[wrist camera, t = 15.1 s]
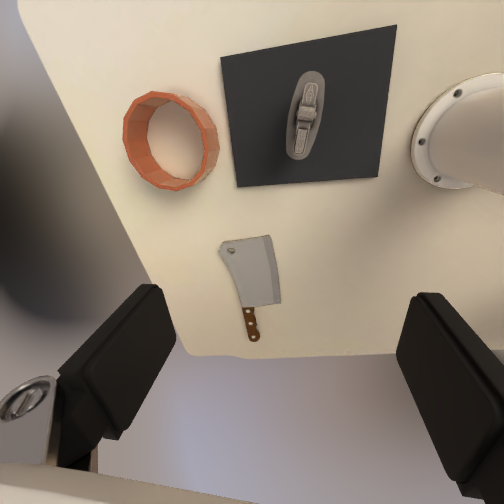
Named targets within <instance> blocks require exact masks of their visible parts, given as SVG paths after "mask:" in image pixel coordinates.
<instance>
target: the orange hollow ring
mask: <svg viewBox="0 0 504 504" xmlns="http://www.w3.org/2000/svg"><path fill="white" fill-rule="evenodd" d="M169 101H175V102H176V103H178V104H179V105H180V106H182V107H183V108H185V109H186V110H187V111H189V112H190V114H191V116H192V117H193V119H194V120H195V122H196V124H197V125H198V127H199V128H200V130H201V134H202V139H203V145H204V150H205V152H204V156H203V161H202V165H201V169H200V171H199V172H198V173H197V174H196V175H195V177H194V178H193V179H190V180H185V179H179V178H174V177H173V176H171V175H170V174H168V173H167V172H165V171H163V170H162V169H161V168H160V166H159V165H158V164H157V162H156V161H155V159H154V158H153V157H152V155H151V152H150V148H149V145H148V141H147V131H148V122H149V119H150V118H151V116H152V115H153V113H154V112H155V110H156V108H157V107H159V106H161V105H163V104H165V103H167V102H169ZM122 139H123V143H124V146H125V149H126V152H127V155H128V158H129V161H130V162H131V163H132V165H133V166H134V167H135V169H136V170H137V171H138V173H139V174H140V175H141V177H142V178H144V179H145V180H147V181H148V182H150V183H151V184H153V185H154V186H156V187H158V188H160V189H166V190H172V191H179V190H182V189H184V188H187V187H190V186H193V185H195V184H196V183H198V182H200V181H201V180H203V179H205V178H206V176H207V175H208V174H209V173H210V172H211V171H212V170H213V168H214V167H215V165H216V161H217V157H218V153H219V149H220V148H219V141H218V135H217V129H216V127H215V125H214V123H213V122H212V120H211V118H210V117H209V115H208V113H207V111H206V110H205V109H204V108H202V107H201V106H199V105H198V104H197V103H195V102H194V101H192V100H191V99H190V98H187V97H183V96H179V95H175V94H171V93H163V92H155V91H151V92H149V93H147V94H145V95H143V96H141V97H139V98H137V99H135V100H134V101H133V103H132V104H131V106H130V108H129V109H128V111H127V113H126V115H125V116H124V121H123V138H122Z"/></svg>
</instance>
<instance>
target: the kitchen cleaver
mask: <svg viewBox="0 0 504 504" xmlns="http://www.w3.org/2000/svg"><path fill="white" fill-rule="evenodd" d="M228 248H233V249H234V250H235V252H233V253H232V252H229V250H228ZM218 252H219V253H220V255H221V256H222V257H223V259H224V260H225V262H226V263H227V265H228V267H229V269H230V271H231V273H232V275H233V278H234V280H235V283H236V286H237V289H238V293H239V297H240V300H241V304H242V310H243V314H244V319H245V323H246V328H247V332H248V337H249V339H250V341H252V342H256V341H258V340H259V338H260V334H259V332H258V331H257V329H256V325H257V324H256V319H255V316H254V314H253V313H254V307H257V306H264V305H270V304H278V303H281V299H280V288H279V278H278V269H277V264H276V259H275V255H274V250H273V245H272V241H271V238H270V236H269V235H266V236H262V237H255V238H248V239H241V240H235V241H228V242H223V243H222V245H221V247H220V249H219V251H218Z"/></svg>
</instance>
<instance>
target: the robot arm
mask: <svg viewBox="0 0 504 504" xmlns="http://www.w3.org/2000/svg"><path fill="white" fill-rule="evenodd" d="M454 92H455V96H454V97H453V94H454ZM419 139H420V140H421V141H420V143H418V141H419ZM411 157H412V163H413V165H414V167H415V170H416V171H417V173H418V174H419V175H420V177H421V178H423V179H424V180H425V181H427V182H428V183H430V184H432V185H435V186H438V187H441V188H447V189H463V188H467V187H472V186H475V185H476V186H479V187H482V188H485V189H488V190H491V191H494V192H497V193H500V194H503V195H504V73H489V74H484V75H480V76H476V77H473V78H470V79H467V80H465V81H463V82H461V83H459V84H457V85H455V86H453V87H452V88H450V89H449V90H448V91H446V92H445V93H443V94H442V95H441V96H440V97H439V98H438V99H437V100H436V101H434V102H433V103H432V105H431V106H430V107H429V108H428V109H427V111H426V112H425V113H424V115H423V116H422V118H421V120H420V121H419V123H418V125H417V127H416V130H415V132H414V135H413V139H412V144H411ZM434 177H436V178H435V179H434ZM175 342H176V333H175V330H174V326H173V323H172V320H171V317H170V313H169V310H168V307H167V304H166V300H165V297H164V294H163V291H162V289H161V288H159V287H158V285H156V284H142V285H140V286H139V287H138V288H137V289H136V290H135V291H134V292H133V293H132V294H131V295H130V296H129V297H128V298H127V299H126V300H125V301H124V303H122V305H120V307H119V308H118V309H117V310H116V311H115V312H114V313H113V314H112V315H111V316H110V317H109V318H108V319H107V320H106V321H105V322H104V323H103V324H102V325H101V326H100V327H99V328H98V329H97V330H96V331H95V332H94V334H92V335H91V336H90V338H89V339H88V340H87V341H86V342H85V343H84V344H83V345H82V346H81V347H80V348H79V349H78V350H77V351H76V352H75V353H74V354H73V355H72V356H71V357H70V358H69V359H68V360H67V361H66V362H65V363H64V364H63V365H62V366H61V367H60V368H59V369H58V372H59V374H60V377H59V378H58V379H57V380H55V379H54V378H53V377H51V376H39V377H36V378H33V379H31V380H28V381H27V382H25V383H23V384H21V385H19V386H18V387H16V388H15V389H14V390H12V391H11V392H10V393H9V394H7V395H6V396H5V397H4V398H3V399H2V400H1V401H0V504H257V503H252V502H246V501H241V500H236V499H231V498H226V497H220V496H215V495H210V494H205V493H199V492H194V491H189V490H184V489H178V488H173V487H167V486H162V485H157V484H151V483H146V482H141V481H135V480H130V479H124V478H119V477H114V476H109V475H103V474H98V450H97V449H98V446H97V445H98V443H99V441H100V440H101V438H102V437H103V438H105V439H112V440H119V438H120V436H121V434H122V433H123V431H124V430H126V429H128V428H129V426H130V425H131V423H132V421H133V419H134V417H135V416H136V414H137V412H138V410H139V408H140V407H141V405H142V403H143V401H144V399H145V398H146V396H147V394H148V392H149V390H150V388H151V387H152V385H153V383H154V381H155V379H156V378H157V376H158V374H159V372H160V370H161V368H162V367H163V365H164V363H165V361H166V359H167V357H168V356H169V354H170V352H171V350H172V348H173V347H174V345H175ZM396 356H397V361H398V364H399V366H400V368H401V370H402V372H403V375H404V377H405V380H406V382H407V384H408V387H409V389H410V391H411V393H412V396H413V398H414V400H415V402H416V405H417V407H418V409H419V412H420V414H421V416H422V419H423V421H424V423H425V426H426V428H427V430H428V432H429V435H430V437H431V439H432V442H433V444H434V446H435V449H436V451H437V453H438V455H439V457H440V460H441V462H442V464H443V467H444V469H445V471H446V473H447V475H448V477H449V478H450V479H451V480H453V481H456V483H457V485H458V487H459V490H460V492H461V494H462V496H465V497H471V498H477V499H483V500H484V502H485V504H504V365H503V364H502V363H501V362H500V361H499V359H498V358H497V357H496V356H495V355H494V354H493V353H492V351H491V350H490V349H489V348H488V347H487V346H486V344H485V343H484V342H483V341H482V340H481V339H480V338H479V336H478V335H477V334H476V333H475V332H474V331H473V330H472V328H471V327H470V326H469V325H468V324H467V323H466V322H465V320H464V319H463V318H462V317H461V316H460V315H459V313H458V312H457V311H456V310H455V309H454V308H453V307H452V305H451V304H450V303H449V302H448V301H447V300H446V299H445V297H444V296H443V295H442V294H440V293H425V292H420V293H418V294H417V296H414V297H412V298H411V301H410V304H409V308H408V311H407V315H406V318H405V322H404V325H403V329H402V332H401V336H400V339H399V343H398V346H397V350H396Z"/></svg>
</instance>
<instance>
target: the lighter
mask: <svg viewBox="0 0 504 504" xmlns="http://www.w3.org/2000/svg"><path fill="white" fill-rule="evenodd" d="M324 91H325V81H324V78H323V76H322V75H321V74H320V73H319V72H316V71H308V72H306V73H304V74H303V75H302V76H301V77H300V79H299V81H298V84H297V86H296V89H295V92H294V95H293V98H292V102H291V106H290V111H289V115H288V122H287V131H286V151H287V154H288V155H289V156H290V157H291V158H292V159H295V160H301V159H304V158H305V157H307V156H308V154H309V153H310V150H311V148H312V146H313V143H314V141H315V138H316V135H317V132H318V128H319V125H320V122H321V116H322V110H323V104H324Z"/></svg>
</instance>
